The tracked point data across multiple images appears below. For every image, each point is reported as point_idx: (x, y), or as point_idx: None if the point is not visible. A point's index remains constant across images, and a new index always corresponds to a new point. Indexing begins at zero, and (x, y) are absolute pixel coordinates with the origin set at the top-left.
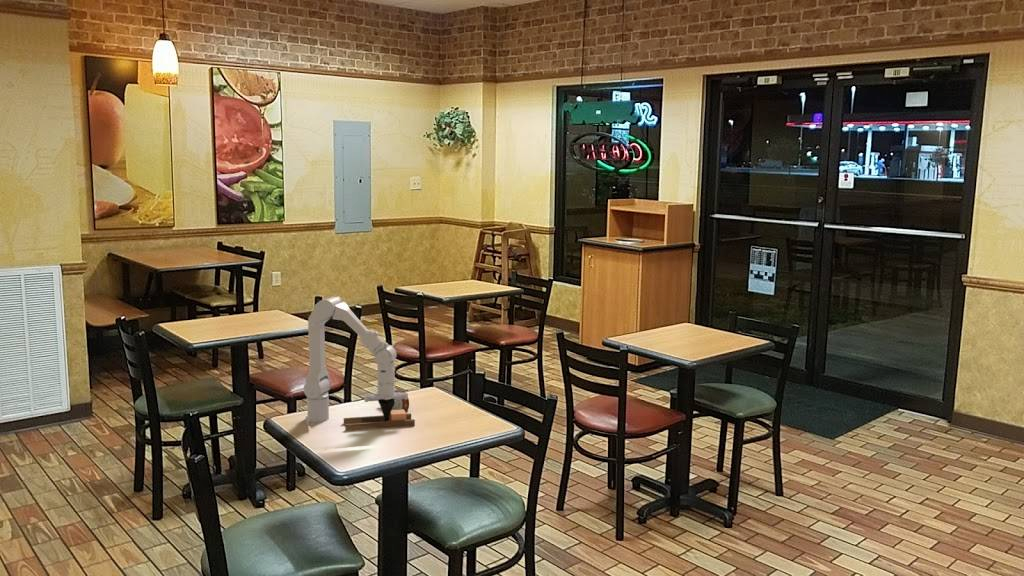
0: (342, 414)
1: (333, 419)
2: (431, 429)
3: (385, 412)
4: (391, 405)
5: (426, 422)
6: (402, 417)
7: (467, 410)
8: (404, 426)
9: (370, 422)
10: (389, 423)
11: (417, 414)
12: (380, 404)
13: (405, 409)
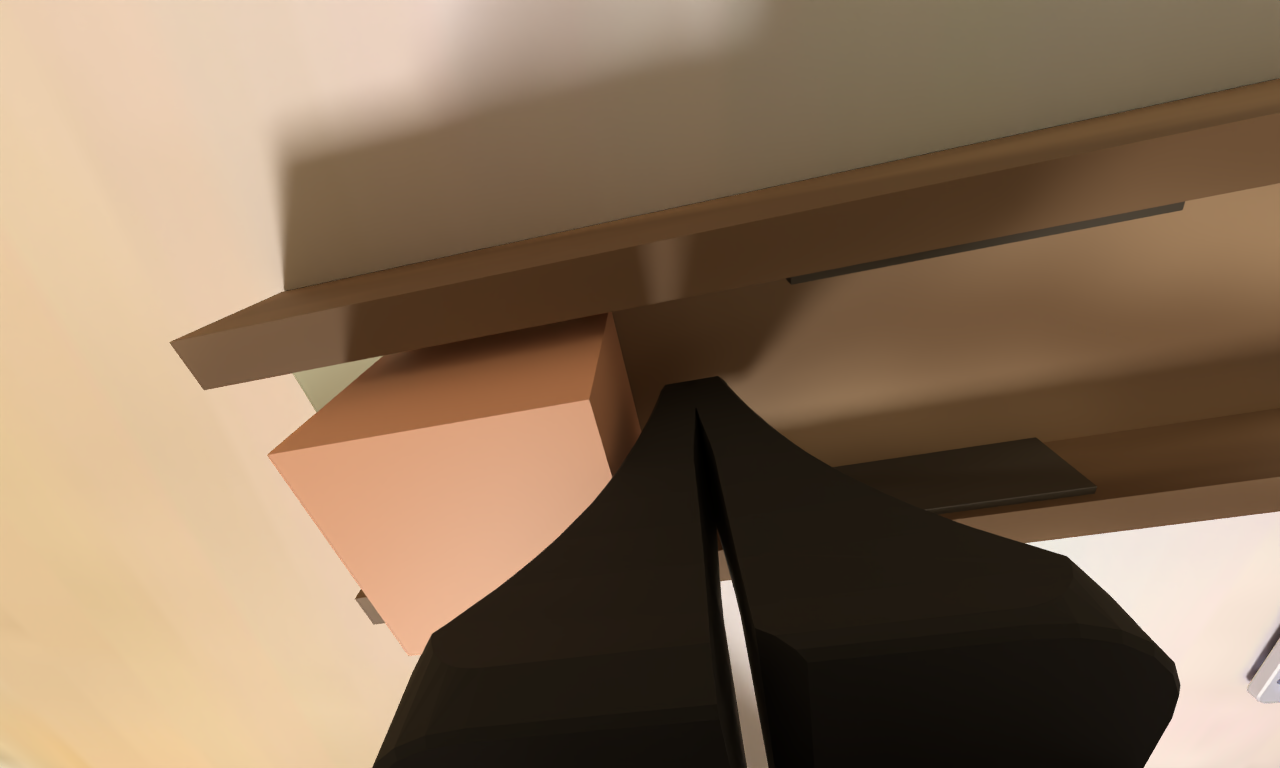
0: None
1: (1233, 624)
2: (23, 248)
3: (741, 453)
4: (546, 596)
5: (239, 510)
6: (389, 398)
7: (38, 742)
8: (399, 272)
9: (1045, 216)
10: (636, 239)
11: None
12: (1111, 603)
13: None
